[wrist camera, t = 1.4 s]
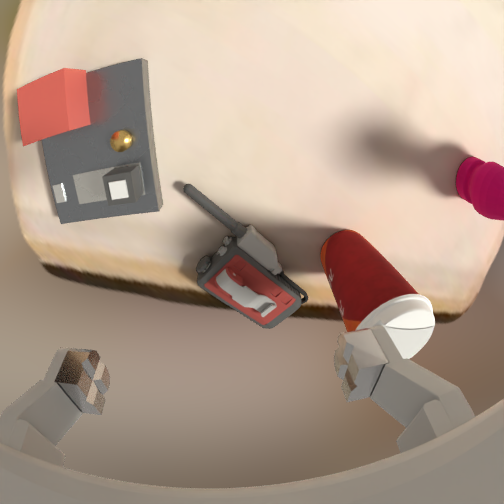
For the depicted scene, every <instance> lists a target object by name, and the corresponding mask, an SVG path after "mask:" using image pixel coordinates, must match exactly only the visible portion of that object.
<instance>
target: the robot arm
mask: <svg viewBox="0 0 504 504" xmlns="http://www.w3.org/2000/svg"><path fill="white" fill-rule="evenodd" d="M337 342H338V344H339V347H338V348H337V349H336V351H335V356H334V365H335V370H336V373H337V375H338V377H339V378H341V379H343V383H342V390H343V392H344V395H345V397H346V401H347V402H350V401H354V400H359V399H363V398H367V397H370V398H371V399H372V400H373V401H374V402H375V403H377V404H378V405H379V406H380V407H381V408H383V409H384V410H385V411H386V412H388V413H389V414H390V415H391V416H393V417H394V418H395V419H396V420H397V421H399V422H400V423H401V424H402V425H404V426H405V427H406V429H405V430H404V431H403V433H402V434H401V435H400V436H399V437H398V439H397V441H396V442H397V444H398V447H399V449H400V452H401V453H400V454H397V455H395V456H392V457H389V458H386V459H383V460H380V461H377V462H374V463H371V464H368V465H365V466H362V467H358V468H355V469H351V470H347V471H344V472H340V473H336V474H331V475H328V476H323V477H318V478H313V479H308V480H302V481H296V482H290V483H284V484H276V485H267V486H257V487H244V488H222V489H196V488H195V489H194V488H174V487H162V486H153V485H144V484H137V483H130V482H124V481H118V480H113V479H108V478H103V477H99V476H94V475H90V474H86V473H82V472H78V471H75V470H71V469H68V468H64V467H63V465H64V460H65V454H64V453H63V452H62V451H61V450H60V449H58V448H57V447H56V445H57V443H58V442H59V441H60V440H61V439H62V437H63V436H64V435H65V434H66V433H67V431H68V430H69V429H70V428H71V427H72V426H73V424H74V423H75V422H76V421H77V420H78V419H79V417H80V416H81V415H82V413H89V414H98V415H101V414H102V411H103V407H104V403H105V398H104V396H103V394H104V393H105V392H106V391H107V390H108V388H109V384H110V376H109V372H108V369H107V368H106V366H105V365H104V364H103V363H101V362H100V361H99V360H100V356H99V354H98V353H97V351H95V350H86V349H75V348H60V349H58V350H57V352H56V354H55V356H54V358H53V360H52V362H51V365H50V367H49V369H48V371H47V373H46V376H45V378H44V380H40V381H39V382H37V383H36V384H35V385H34V386H33V387H31V388H30V389H29V390H28V391H26V392H25V393H24V394H23V395H22V396H20V397H19V398H18V399H17V400H16V401H14V402H13V403H12V404H11V405H10V406H9V407H7V408H6V409H5V410H4V411H3V412H2V414H1V416H0V504H504V399H503V400H501V401H500V402H498V403H497V404H495V405H494V406H492V407H491V408H489V409H487V410H486V411H484V412H483V413H481V414H479V415H478V416H476V417H475V415H474V413H473V411H472V409H471V408H470V406H469V404H468V402H467V401H466V399H465V397H464V395H463V394H462V392H461V390H460V389H459V387H457V386H455V385H453V384H451V383H449V382H448V381H446V380H444V379H442V378H441V377H439V376H437V375H435V374H434V373H432V372H430V371H428V370H427V369H425V368H423V367H421V366H419V365H418V364H416V363H414V362H413V361H411V360H409V359H407V358H406V359H403V358H402V356H401V354H400V353H399V351H398V349H397V348H396V346H395V344H394V342H393V341H392V339H391V337H390V336H389V334H388V333H387V331H386V329H385V328H384V327H383V326H382V325H380V326H375V327H370V328H365V329H360V330H355V331H350V332H345V333H341V334H340V335H339V336H338V341H337Z"/></svg>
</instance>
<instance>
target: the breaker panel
mask: <svg viewBox="0 0 504 504" xmlns="http://www.w3.org/2000/svg"><path fill="white" fill-rule="evenodd" d="M86 81H87V95H88V106H89V115H90V124H91V125H87V126H84V127H80V128H77V129H73V130H70V131H67V132H64V133H60V134H57V135H54V136H51V137H48V138H45V139H42V144H43V150H44V156H45V161H46V166H47V171H48V176H49V180H50V185H51V189H52V193H53V197H54V201H55V205H56V208H57V212H58V216H59V219H60V223H61V224H64V223H71V222H78V221H85V220H92V219H99V218H106V217H114V216H122V215H130V214H139V213H148V212H157V211H160V209H161V207H162V205H163V200H162V194H161V188H160V181H159V174H158V167H157V159H156V151H155V143H154V134H153V125H152V115H151V103H150V91H149V76H148V61H147V60H145V59H142V58H141V59H136V60H132V61H128V62H123V63H119V64H116V65H112V66H108V67H105V68H101V69H98V70H94V71H91V72H88V73H86ZM136 165H139V169H140V176H141V182H142V188H143V194H142V196H141V197H140V198H139V199H138V201H137V202H135V203H127V204H120V205H112V206H108V202H107V198H106V193H105V188H104V183H103V178H102V176H104V175H105V174H107V173H108V172H109V171H111V170H112V169H118V168H123V167H130V166H136Z"/></svg>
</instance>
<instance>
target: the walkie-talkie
mask: <svg viewBox="0 0 504 504" xmlns="http://www.w3.org/2000/svg"><path fill="white" fill-rule="evenodd" d="M183 189H184V192H185V193H186V194H187V195H188V196H190V197H191V198H192V199H193V200H195V201H196V202H197V203H198V204H199V205H201V206H202V207H203V208H204V209H206V210H207V211H208V212H209V213H211V214H212V215H213V216H214V217H215V218H217V219H218V220H219V221H220V222H222V223H223V224H224V225H225V226H227V227H228V228H229V229H230V230H231V232H232V233H233V234H234V235H236V236H237V237H230V238H229V237H228V236H226V237H225V238H224V239H223V243H224V245H223V246H221V247H220V248H219V250H218V251H217V252H216V253H215V254H214V255H213V256H212V257H211V258H210V257H208V256H205V257H203V258H202V259H201V260H200V262H199V263H198V265H197V267H196V271H197V272H198V278H197V283H198V286H200V287H201V288H203V289H204V290H205V291H207V292H208V293H210V294H211V295H213V296H214V297H216V298H217V299H219V300H220V301H222V302H223V303H225V304H226V305H229V306H230V307H231V308H233V309H234V310H236V311H237V312H239V313H240V314H243V315H244V316H246V317H247V318H249V319H250V320H252V321H253V322H255V323H256V324H258V325H259V326H261V327H262V328H269V329H270V328H273V327H275V326H276V325H278V324H279V323H280V322H282V321H283V320H284V319H286V318H287V317H288V316H289V315H291V314H292V313H293V312H295V311H296V310H297V309H298V308H299V307H300V306H301V304H303V303H305V302H307V300H308V296H307V293H306V292H305V291H304V290H303V289H301V288H300V287H299V286H298V285H296V284H295V283H294V282H293V281H292V280H290V279H289V278H288V277H287V276H286V275H285V274H284V272H283V270H282V266H281V265H280V264H279V263H278V261H277V254H276V250H275V247H274V245H272V244H271V243H270V242H269V241H268V240H267V239H265V238H264V237H263V236H262V235H261V234H260V233H258V232H257V231H256V229H255V227H253V226H252V225H251V224H250V225H249V226H248V227H247V228H245V227H244V226H243V225H242V224H241V223H239V222H236V221H235V220H234V219H233V218H231V217H230V216H229V215H228V214H227V213H225V212H224V211H223V210H222V209H220V208H219V207H218V206H217V205H216V204H214V203H213V202H212V201H211V200H210V199H208V198H207V197H206V196H205V195H203V194H202V193H201V192H200V191H198V190H197V189H196V188H195V187H194V186H192V185H191V184H186V185H185V186H184V188H183ZM300 293H301V294H302V295H304V298H302V299H301V295H300Z"/></svg>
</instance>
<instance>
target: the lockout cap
mask: <svg viewBox="0 0 504 504" xmlns="http://www.w3.org/2000/svg"><path fill="white" fill-rule="evenodd" d="M17 98H18V110H19V120H20V128H21V135H22V142H23V146H25V145H28V144H31V143H34V142H36V141H39V140H42V139H45V138H48V137H51V136H54V135H57V134H60V133H64V132H67V131H70V130H73V129H77V128H80V127H84V126H87V125H91V124H90V115H89V106H88V95H87V81H86V70H78V69H68V68H63V69H61V70H58V71H56V72H53V73H51V74H49V75H46V76H44V77H42V78H39V79H37V80H35V81H33V82H31V83H29V84H27V85H25V86H23V87H21V88H19V89H17Z"/></svg>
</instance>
